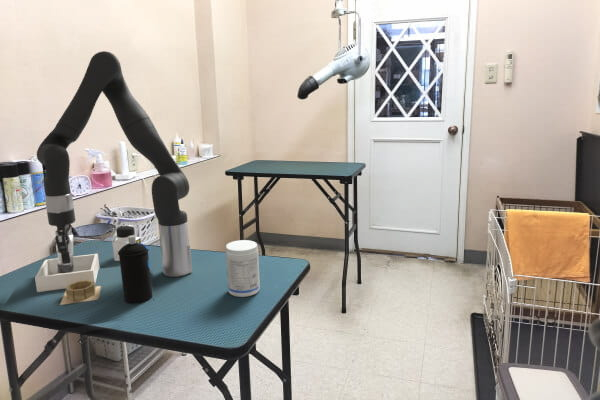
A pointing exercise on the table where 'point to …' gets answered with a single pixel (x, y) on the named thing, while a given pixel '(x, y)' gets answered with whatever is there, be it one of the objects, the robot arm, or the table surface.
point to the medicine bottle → (123, 239)
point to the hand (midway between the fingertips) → (67, 260)
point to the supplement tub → (242, 268)
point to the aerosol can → (135, 272)
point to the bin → (53, 280)
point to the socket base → (81, 292)
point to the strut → (70, 266)
